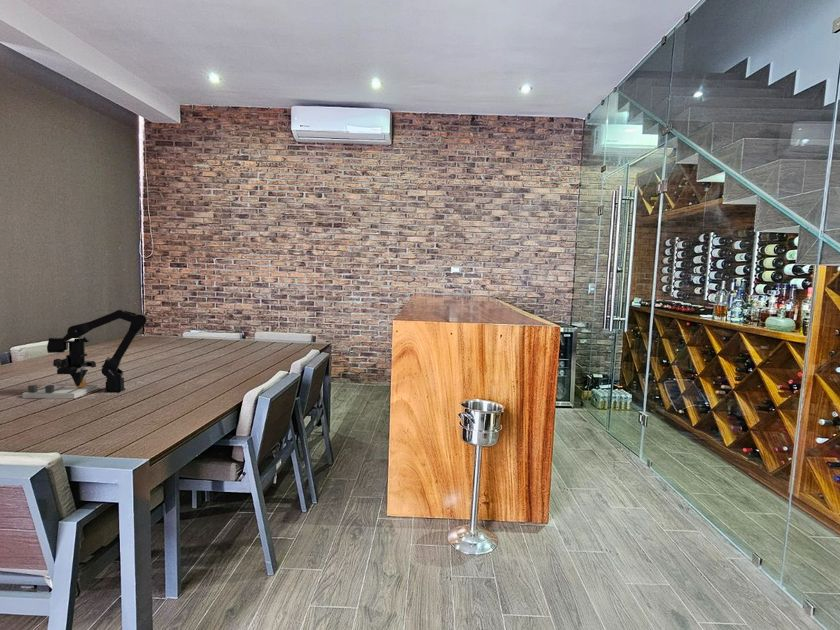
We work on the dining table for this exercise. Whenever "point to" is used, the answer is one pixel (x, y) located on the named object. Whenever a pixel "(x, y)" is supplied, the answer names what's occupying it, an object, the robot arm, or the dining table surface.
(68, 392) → the breaker panel
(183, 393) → the dining table surface
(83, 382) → the block
